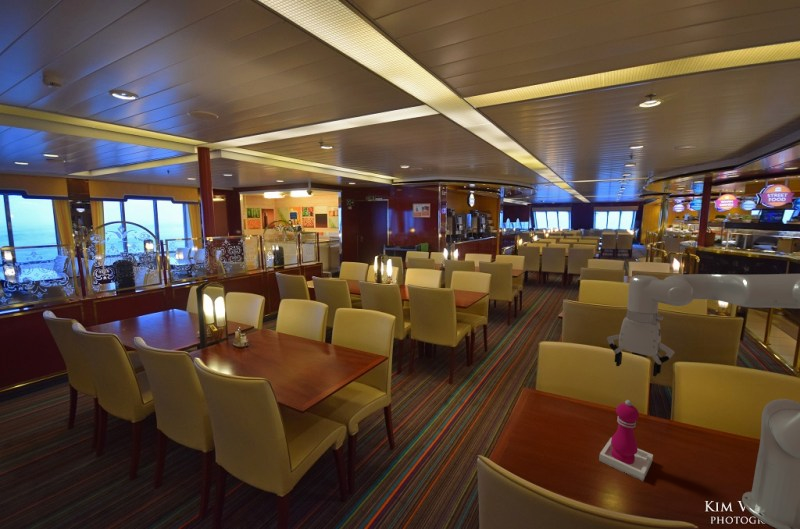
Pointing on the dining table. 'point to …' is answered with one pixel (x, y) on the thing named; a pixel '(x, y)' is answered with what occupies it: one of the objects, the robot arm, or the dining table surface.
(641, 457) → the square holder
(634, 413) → the pepper mill
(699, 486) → the dining table surface
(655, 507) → the dining table surface
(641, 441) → the dining table surface
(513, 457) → the dining table surface
